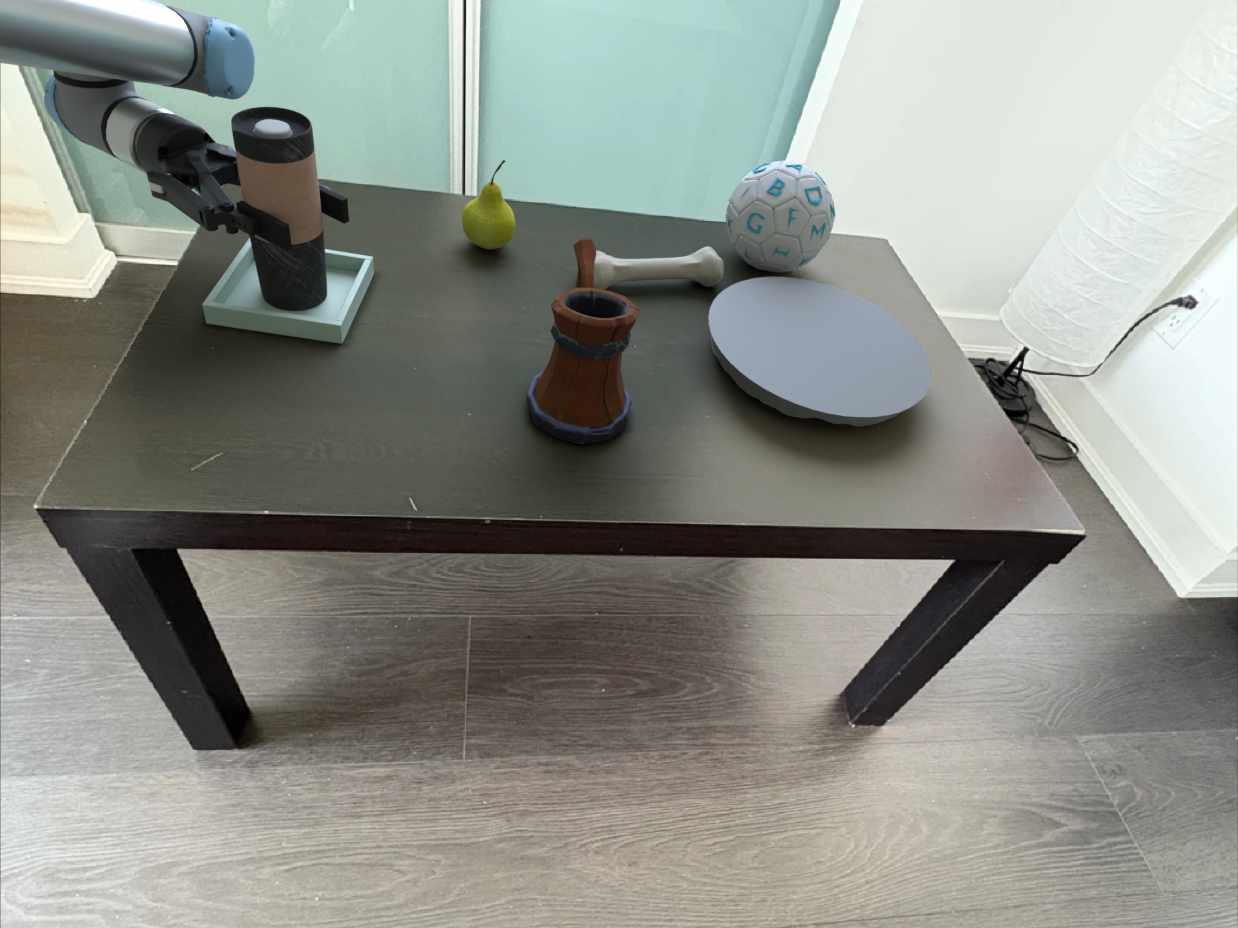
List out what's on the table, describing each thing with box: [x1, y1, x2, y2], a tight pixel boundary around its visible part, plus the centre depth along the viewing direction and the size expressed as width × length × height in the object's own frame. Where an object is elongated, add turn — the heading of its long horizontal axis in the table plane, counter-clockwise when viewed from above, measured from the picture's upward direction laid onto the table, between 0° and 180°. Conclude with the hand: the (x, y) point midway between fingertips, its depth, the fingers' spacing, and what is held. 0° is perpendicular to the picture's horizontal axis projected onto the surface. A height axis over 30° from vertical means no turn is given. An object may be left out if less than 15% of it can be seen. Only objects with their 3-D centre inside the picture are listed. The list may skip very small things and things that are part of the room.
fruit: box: [461, 159, 516, 250], centre depth 103 cm, size 7×7×12 cm
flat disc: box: [708, 276, 932, 428], centre depth 98 cm, size 28×28×4 cm
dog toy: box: [594, 245, 725, 290], centre depth 106 cm, size 20×6×5 cm, turn 108°
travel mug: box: [230, 106, 327, 311], centre depth 85 cm, size 8×8×20 cm
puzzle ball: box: [725, 160, 836, 273], centre depth 112 cm, size 15×15×15 cm
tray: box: [201, 237, 375, 345], centre depth 91 cm, size 15×15×2 cm
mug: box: [526, 237, 640, 445], centre depth 84 cm, size 18×12×15 cm, turn 6°
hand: (317, 223), depth 83 cm, fingers closed on travel mug, 7 cm apart
